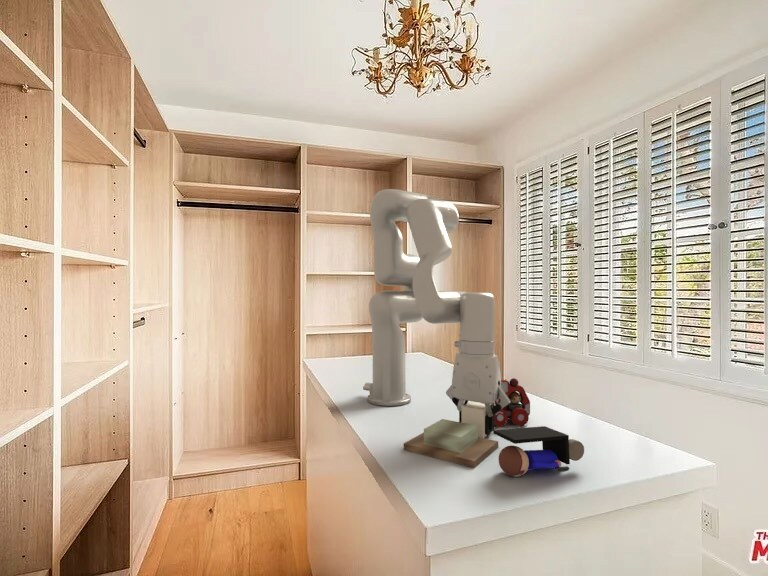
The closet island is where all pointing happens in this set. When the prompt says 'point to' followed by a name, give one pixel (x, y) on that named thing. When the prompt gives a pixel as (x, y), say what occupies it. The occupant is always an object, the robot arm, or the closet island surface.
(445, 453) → the base
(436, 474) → the closet island surface
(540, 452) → the figurine character
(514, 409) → the toy fire truck
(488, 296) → the robot arm
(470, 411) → the cream block
